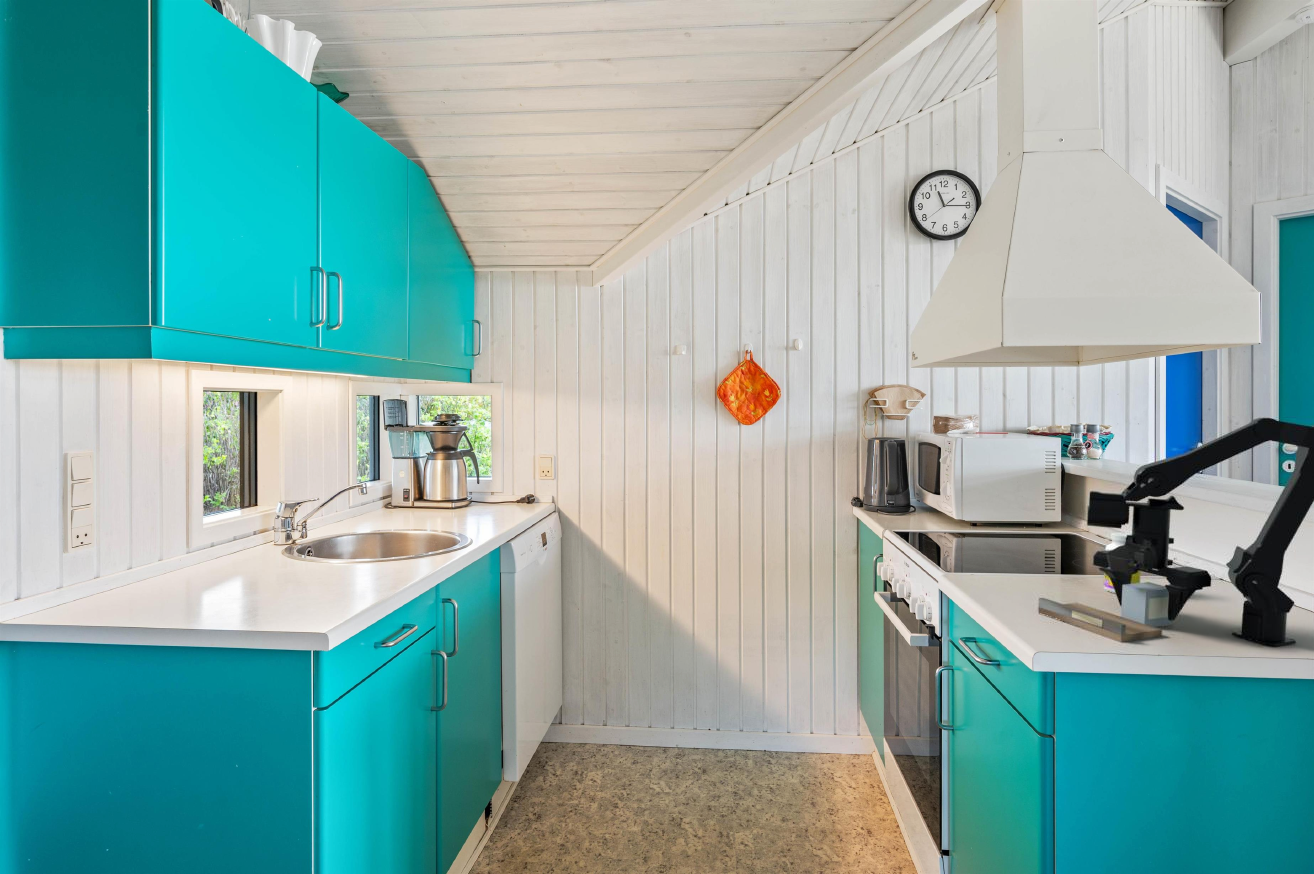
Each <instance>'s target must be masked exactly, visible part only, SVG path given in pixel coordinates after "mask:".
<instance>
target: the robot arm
mask: <svg viewBox="0 0 1314 874" xmlns="http://www.w3.org/2000/svg"><path fill="white" fill-rule="evenodd" d="M1270 441H1271V442H1276V443H1280V444H1281V443H1282V444H1285V445H1286V444H1287V445H1291V446H1297V449H1296V453H1295V459H1294V460H1295V461H1294V468H1293V472H1292V474H1291V475H1290V477H1289V478H1288V480H1287V482H1286V484H1285V486H1284V487H1283V490H1282V492H1281V493H1280V495H1279V497H1278V498H1277V501H1276V502H1275V504H1274V506H1273V508H1272V510H1271V511H1270V514H1269V515H1268V517H1267V519H1266V521H1265V522H1264V524H1263V526H1262V528H1261V530H1260V532H1259V534H1258V536H1257V538H1256V539H1255V540H1254V542H1253V543H1251V544H1250V545H1249V546H1248V547H1247V548H1246V549H1245V548H1242V547H1241V546H1238V545H1237V546H1235V549H1234V552H1233V557H1232V558H1231V559H1230V560H1229V561H1228V562H1227V563H1226V564H1225V566H1227V568H1228V571H1227V577H1228V579H1229V580H1230V583H1231V584H1232V585H1233V586H1234V587H1235V588H1236V589H1237V590H1238V592H1239V593H1240V594H1242V596H1243V598H1244V599H1245V600H1244V601H1243V604H1242V605H1243V606H1242V615H1241V629H1240V630H1235V631H1231V635H1232V636H1236V637H1238V638H1242V639H1246V640H1248V641H1249V640H1250V641H1252V642H1256V643H1259V644H1263V645H1266V646H1270V647H1278V646H1285V645H1291V644H1295V643H1297V640H1296V639H1294V638H1290V637H1287V636H1286V635H1287V618H1288V614H1289V613H1290V612H1291V610H1292V608H1293V606H1294V605H1295V601H1294V600H1293V599H1292V598H1291V597H1289V596H1288V595H1287V594H1286V593H1285V592H1284V591H1283V590H1282V589H1281V588H1279V583H1280V580H1281V578H1282V574H1283V568H1284V560H1285V559H1284V558H1285V554H1286V552H1287V550H1288V548H1289V546H1290V545H1291V543H1292V541H1293V539H1294V538H1295V535H1296V534H1297V532H1298V530H1299V528H1300V527H1301V526H1302V523H1303V522H1304V520H1305V517H1306V516H1307V514H1308V512H1309V511H1310V510H1311V509H1310V508H1311V507H1312V505H1313V504H1314V425H1311V426H1310V425H1304V424H1300V423H1299V424H1298V423H1294V422H1288V421H1281V420H1277V419H1275V418H1271V417H1257V418H1255V419H1253V420H1252V421H1250V422H1249V423H1247V424H1245V425H1243V426H1240V427H1239V428H1236V429H1234V430H1231V431H1230V432H1228V433H1225V434H1223V435H1221V436H1219V437H1218V438H1215V439H1212V440H1211V441H1208V442H1207V443H1204V444H1201V445H1200V446H1198V447H1195V448H1193V449H1191V450H1189V451H1187V452H1185V453H1183V454H1179V455H1176V456H1172V457H1168V458H1164V459H1161V460H1157V461H1153V462H1150V463H1147V464H1143V465H1142V466H1140V467H1138V468H1137V469H1136V470H1135V472H1134V475H1133V481H1132V482H1131V483H1130V484H1129V485H1128V486H1127V487H1126V488H1124V490H1123V491H1122V492H1121V493H1112V492H1111V493H1110V492H1100V491H1097V490H1090V491H1089V498H1088V505H1087V510H1086V526H1087V527H1097V528H1110V529H1122V526H1126V525H1129V521H1130V507H1132V526H1131V527H1132V528H1131V534H1132V535H1127V537H1126V542H1125V544H1124V545H1123V546H1119V547H1117V548H1115V549H1113V550H1106V551H1105V550H1097V551H1096V552H1095V553H1094V555H1093V556H1092V565H1093V566H1095V567H1098V570H1099V571H1100V572H1103V574H1104V573H1105V574H1106V575H1107V576H1108V577H1109V578H1110V580H1111V582H1112V584H1113V587H1114V590H1115V592H1116V594H1115V595H1116V597H1117V600H1118V603H1119V606H1120V607H1122V588H1123V585H1126V584H1131V578H1132V575H1133V574H1136V573H1137V572H1138V571H1141V572H1143V573H1147V574H1151V575H1156V576H1160V577H1163V578H1166V580H1167V582H1168V584H1165V585H1164V586H1165V587H1166V589H1167V590H1168V592H1169V600H1168V620H1169V621H1171V622H1173V621H1175V620H1176V619H1177V617H1178V615H1179V613H1180V612H1181V611H1182V609H1184V606H1185V605H1186V603H1187V602H1188V601H1189V600H1190V598H1191V597H1192V596H1193V595H1194V594H1195V592H1196V591H1199V590H1200V591H1201V590H1203V589H1204V588H1209V587H1212V576H1211V574H1210V573H1209V571H1207V570H1205V569H1202V568H1201V569H1200V568H1198V567H1191V566H1187V565H1186V566H1177V567H1175V566H1174V567H1171V566H1173V563H1174V560H1173V559H1169V549H1170V548H1169V546H1170V545H1172V544H1174V543H1175V538H1173V537H1170V526H1171V512H1172V511H1171V510H1173V511H1183V510H1184V509H1185V507H1184V506H1183V505H1182V504H1181V503H1179V502H1178V500H1177V498H1176V497H1175V496H1174V495H1170V496H1169V497H1167V498H1166V499H1165V498H1164V499H1162V498H1161V497H1164V496H1166V495H1167V494H1169V493H1170V492H1172V491H1174V490H1175V489H1177V488H1178V487H1180V486H1181V485H1183V484H1184V483H1185V482H1186V481H1188V480H1190V478H1192V477H1193V476H1195V475H1196V474H1198V473H1200V472H1201V471H1205V470H1207V469H1209V468H1211V467H1213V466H1216V465H1218V464H1220V463H1222V462H1224V461H1226V460H1228V459H1230V458H1232V457H1235V456H1237V455H1240V454H1241V453H1244V452H1246V451H1249V450H1251V449H1252V448H1256V447H1257V446H1259V445H1261V444H1264V443H1266V442H1270ZM1148 497H1150V498H1148ZM1151 497H1152V498H1151ZM1146 498H1147V501H1146V502H1139V501H1143V500H1145V499H1146ZM1169 566H1170V567H1169Z"/></svg>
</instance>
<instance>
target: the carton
mask: <svg viewBox="0 0 1314 874" xmlns="http://www.w3.org/2000/svg"><path fill="white" fill-rule="evenodd" d="M1168 600H1169V592H1168V590H1167V589H1166V587H1165V585H1162V584H1157V583H1154V582H1151V581H1147V582H1146V581H1145V582H1140V583H1136V584H1126V585H1123V588H1122V606H1121V607H1120V609H1121V611H1120V617H1123V618H1126V619H1130V620H1133V621H1136V622H1139V623H1142V624H1146V625H1149V626H1152V627H1155V628H1158V627H1163V626H1171V625H1172V621H1169V620H1168Z"/></svg>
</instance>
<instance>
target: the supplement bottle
mask: <svg viewBox="0 0 1314 874" xmlns="http://www.w3.org/2000/svg"><path fill="white" fill-rule="evenodd" d="M1127 535H1132V533H1130V532H1129V533H1128V532H1120V531H1119V532H1111V534H1110V539H1111V543H1109V544H1107V545H1106V546H1105V550H1104V551H1106V550H1113V549H1115V548H1117V547H1119V546H1123V545H1124V544H1125V542H1126V537H1127ZM1141 573H1142V571H1138V572H1137V573H1136V574H1133V575H1132V578H1131V584H1136V583H1141ZM1103 590H1105V591H1107V592H1108V591H1109V592H1108V593H1111V592H1112V594H1115V595H1116V592H1115V590H1114V587H1113V584H1112V582H1111V580H1110V578H1109V577H1108V576H1107V575H1106V574H1105V573H1104V572H1103Z"/></svg>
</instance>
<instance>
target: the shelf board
mask: <svg viewBox="0 0 1314 874" xmlns="http://www.w3.org/2000/svg"><path fill="white" fill-rule="evenodd" d="M1037 609H1038V610H1037V613H1038V612H1039V613H1038V614H1040V613H1042V614H1045V615H1048V616H1051V617H1053V618H1052V619H1054V618H1057V619H1060V620H1062V621H1065V622H1068V623H1071V624H1074V625H1076V626H1075V627H1077V626H1078V627H1077V628H1079V627H1081V628H1080V629H1082V628H1083V630H1085V629H1086V631H1088V630H1089V631H1088V632H1091V633H1094V634H1097V635H1100V636H1103V637H1105V638H1108V639H1111V640H1115V641H1117V642H1119V643H1125V642H1130V641H1131V642H1132V641H1136V640H1145V639H1152V638H1153V639H1154V638H1160V637H1163V629H1161V628H1158V627H1152V626H1149V625H1146V624H1142V623H1139V622H1136V621H1133V620H1130V619H1126V618H1123V617H1121V615H1117V614H1113V613H1110V612H1107V611H1104V610H1100V609H1097V608H1094V607H1092V606H1089V605H1085V604H1082V603H1078V602H1072V603H1061V602H1058V601H1054V600H1052V599H1048V598H1045V597H1038V607H1037ZM1042 614H1041V615H1042ZM1045 615H1044V616H1045ZM1048 616H1047V617H1048ZM1051 617H1050V618H1051ZM1057 619H1056V620H1057ZM1062 621H1061V622H1062ZM1065 622H1064V623H1065ZM1068 623H1067V624H1068ZM1071 624H1070V625H1071ZM1074 625H1073V626H1074Z"/></svg>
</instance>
